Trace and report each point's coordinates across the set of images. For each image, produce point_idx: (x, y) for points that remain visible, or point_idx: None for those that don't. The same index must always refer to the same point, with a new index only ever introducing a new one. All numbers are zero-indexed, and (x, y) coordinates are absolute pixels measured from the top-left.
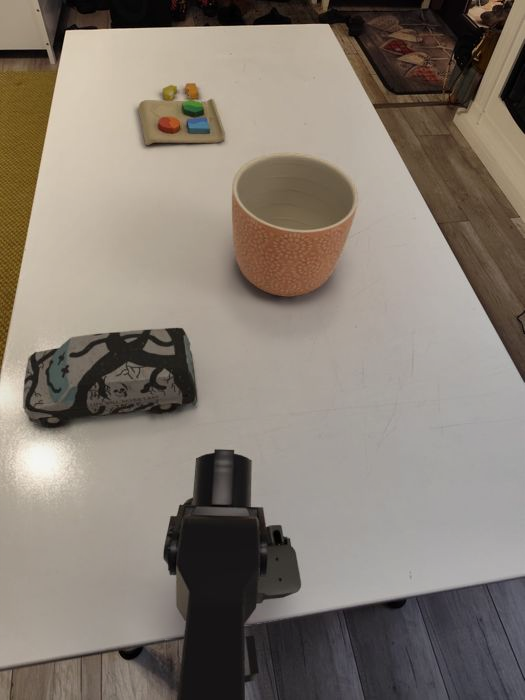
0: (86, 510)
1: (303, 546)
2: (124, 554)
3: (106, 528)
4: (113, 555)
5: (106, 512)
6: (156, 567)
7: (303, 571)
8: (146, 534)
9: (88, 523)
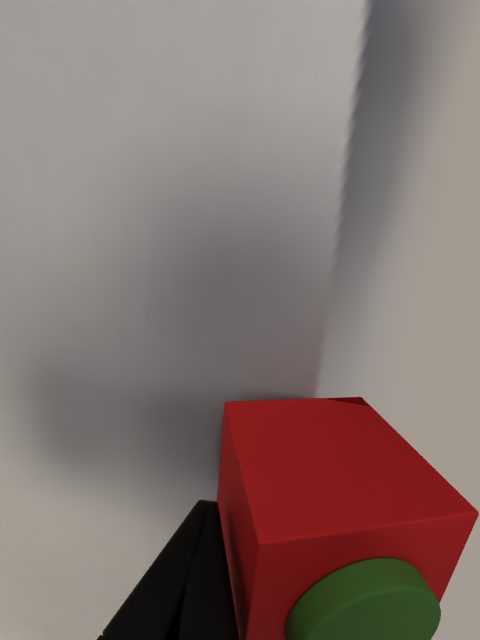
0: (5, 627)
1: (70, 41)
2: (93, 597)
3: (38, 609)
4: (94, 614)
5: (5, 601)
6: (125, 552)
7: (181, 67)
8: (47, 550)
9: (30, 631)
